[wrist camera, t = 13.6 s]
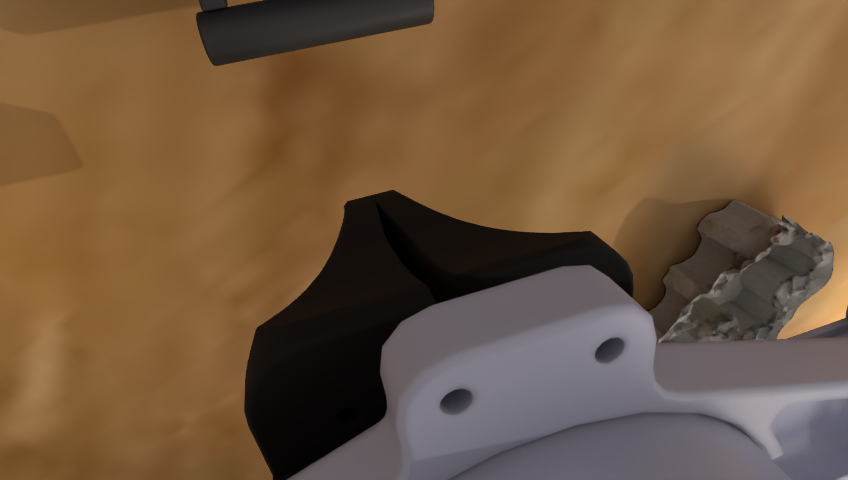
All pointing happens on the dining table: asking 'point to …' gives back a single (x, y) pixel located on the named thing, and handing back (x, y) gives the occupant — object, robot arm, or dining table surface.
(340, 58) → the dining table surface
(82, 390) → the dining table surface
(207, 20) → the drawer
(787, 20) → the dining table surface
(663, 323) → the egg carton
